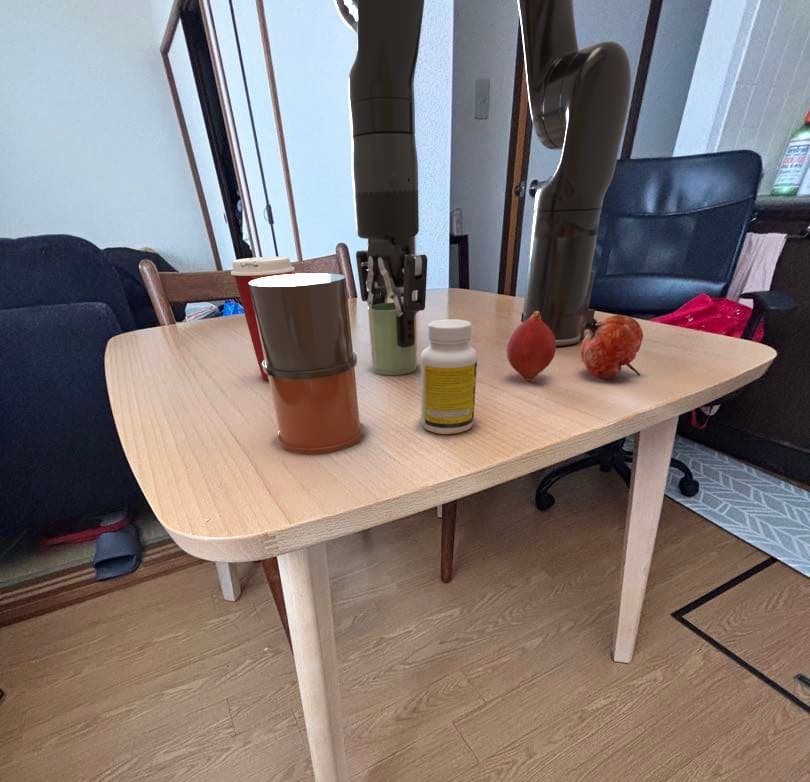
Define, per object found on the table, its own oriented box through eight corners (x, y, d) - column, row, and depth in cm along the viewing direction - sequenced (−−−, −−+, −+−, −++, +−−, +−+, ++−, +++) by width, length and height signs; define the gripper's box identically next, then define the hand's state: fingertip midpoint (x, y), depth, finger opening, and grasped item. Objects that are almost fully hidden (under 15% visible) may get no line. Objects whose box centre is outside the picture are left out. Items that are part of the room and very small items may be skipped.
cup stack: (341, 414, 52) (324, 270, 44) (378, 440, 46) (367, 278, 38) (267, 432, 49) (233, 280, 40) (296, 462, 42) (263, 290, 34)
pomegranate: (615, 383, 64) (562, 335, 62) (664, 340, 59) (608, 287, 57) (618, 407, 59) (560, 356, 57) (671, 363, 54) (610, 306, 52)
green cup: (402, 360, 69) (399, 300, 65) (425, 369, 65) (424, 306, 60) (365, 367, 67) (359, 306, 62) (386, 378, 62) (382, 312, 58)
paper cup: (298, 385, 61) (276, 261, 53) (244, 383, 63) (216, 263, 54) (318, 367, 67) (302, 255, 59) (269, 366, 69) (247, 256, 61)
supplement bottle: (482, 431, 47) (489, 325, 41) (431, 439, 46) (430, 332, 40) (461, 412, 51) (465, 315, 45) (414, 419, 50) (412, 320, 44)
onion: (495, 381, 60) (501, 312, 55) (519, 370, 63) (526, 305, 58) (536, 389, 56) (545, 317, 52) (559, 378, 60) (570, 309, 55)
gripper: (448, 184, 50) (446, 347, 60) (383, 190, 60) (390, 329, 70) (388, 185, 47) (395, 357, 57) (330, 191, 57) (345, 336, 67)
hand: (392, 341), depth 64 cm, fingers closed on green cup, 6 cm apart
